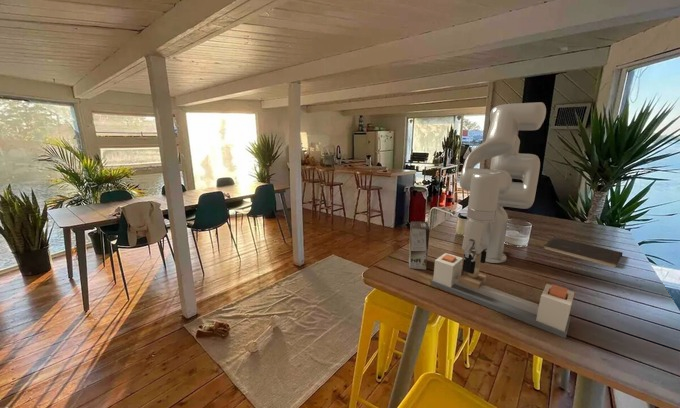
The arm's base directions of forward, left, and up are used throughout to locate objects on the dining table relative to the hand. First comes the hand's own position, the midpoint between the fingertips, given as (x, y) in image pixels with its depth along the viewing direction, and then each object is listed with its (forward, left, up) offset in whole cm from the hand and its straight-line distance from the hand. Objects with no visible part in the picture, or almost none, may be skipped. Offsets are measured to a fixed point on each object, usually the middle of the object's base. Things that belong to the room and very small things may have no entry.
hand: (474, 266), depth 86 cm
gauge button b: (0, +21, -2) cm, 21 cm away
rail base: (0, +6, -9) cm, 11 cm away
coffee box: (-6, -23, -10) cm, 25 cm away
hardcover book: (-64, +22, -10) cm, 69 cm away
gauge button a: (0, -8, -3) cm, 9 cm away
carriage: (0, 0, -5) cm, 5 cm away
